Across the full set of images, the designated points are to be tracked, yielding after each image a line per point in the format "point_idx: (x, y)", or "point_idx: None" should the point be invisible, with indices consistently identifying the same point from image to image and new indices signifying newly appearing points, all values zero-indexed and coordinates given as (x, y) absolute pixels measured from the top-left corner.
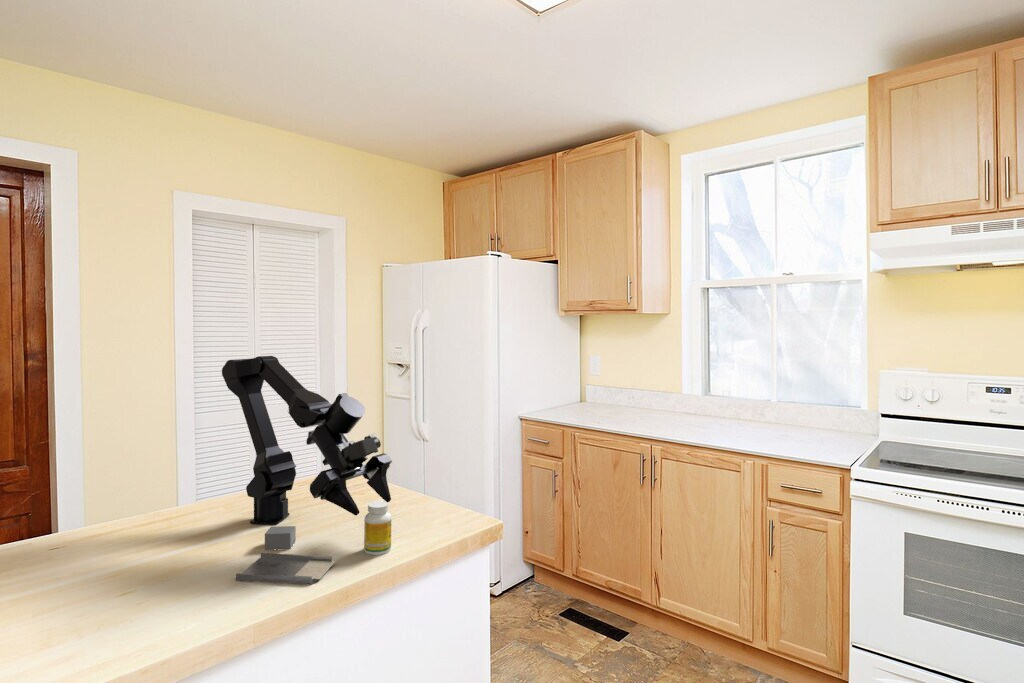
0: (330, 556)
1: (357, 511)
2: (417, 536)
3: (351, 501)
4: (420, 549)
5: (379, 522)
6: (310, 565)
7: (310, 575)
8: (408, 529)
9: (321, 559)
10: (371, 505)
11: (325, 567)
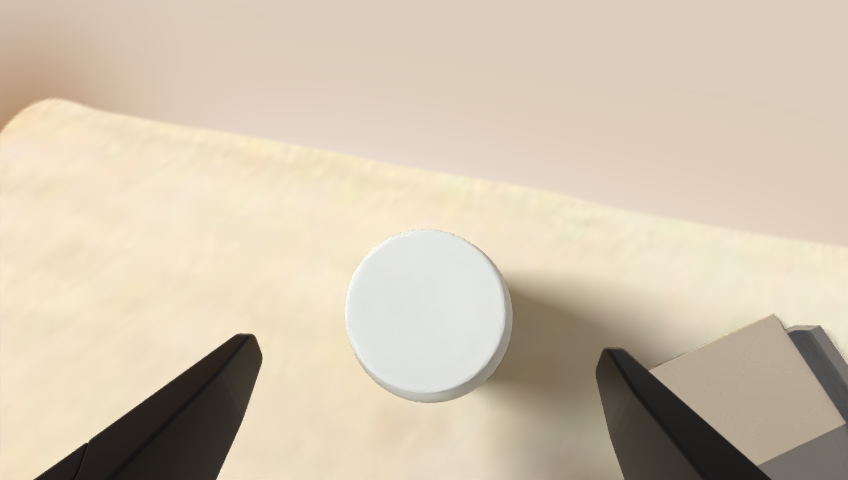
0: None
1: (628, 354)
2: (248, 268)
3: (710, 438)
4: (349, 184)
5: (483, 252)
6: None
7: (783, 368)
8: (195, 350)
9: None
10: (478, 334)
11: (696, 371)
